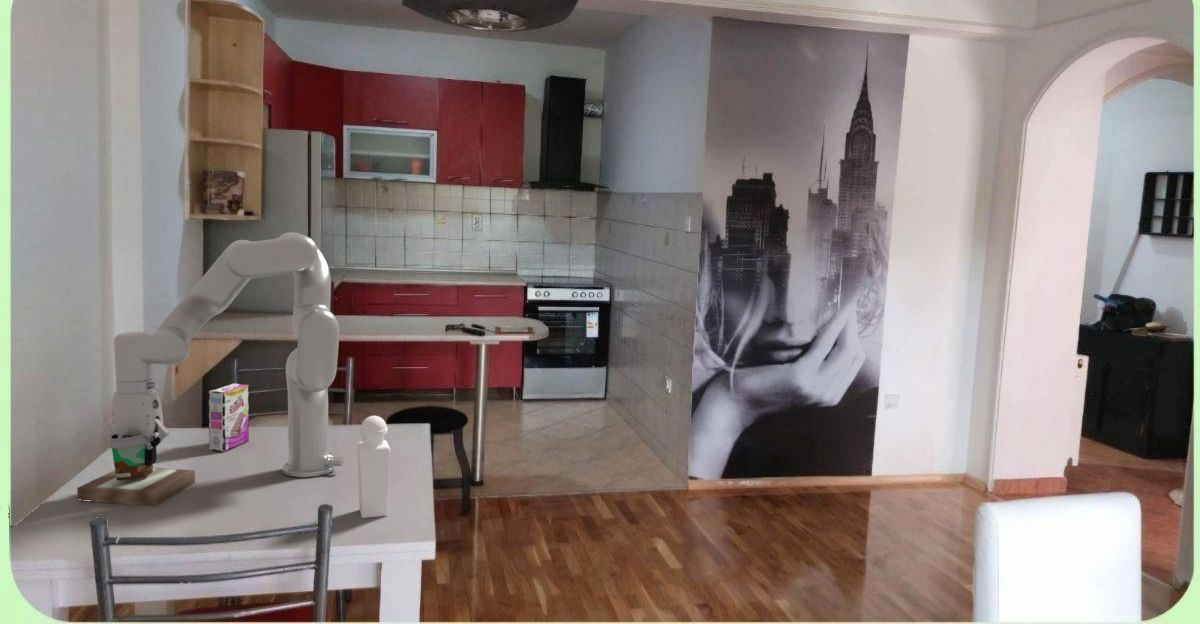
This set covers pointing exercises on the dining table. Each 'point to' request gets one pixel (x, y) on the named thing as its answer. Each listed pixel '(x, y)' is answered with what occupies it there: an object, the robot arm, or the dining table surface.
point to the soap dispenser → (373, 468)
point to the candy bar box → (228, 417)
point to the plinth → (137, 487)
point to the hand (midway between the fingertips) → (138, 462)
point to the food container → (130, 457)
